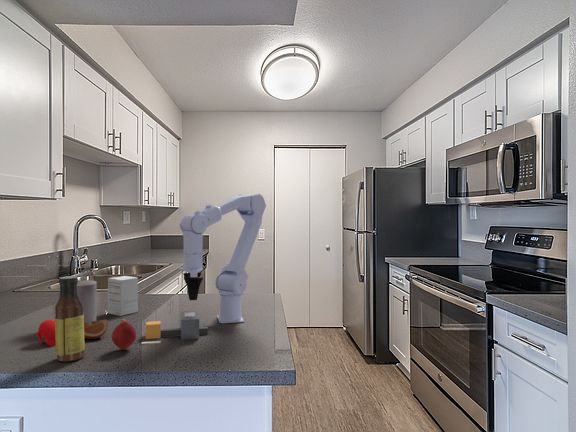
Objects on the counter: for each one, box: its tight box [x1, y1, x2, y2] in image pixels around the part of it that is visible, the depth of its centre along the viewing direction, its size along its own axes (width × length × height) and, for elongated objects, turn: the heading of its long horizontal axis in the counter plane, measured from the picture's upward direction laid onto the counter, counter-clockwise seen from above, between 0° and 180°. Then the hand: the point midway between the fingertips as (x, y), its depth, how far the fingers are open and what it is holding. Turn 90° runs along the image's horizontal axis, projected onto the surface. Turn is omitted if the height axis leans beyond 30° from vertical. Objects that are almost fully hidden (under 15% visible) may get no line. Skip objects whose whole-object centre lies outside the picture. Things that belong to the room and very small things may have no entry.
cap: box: [35, 319, 56, 347], centre depth 115 cm, size 8×6×6 cm
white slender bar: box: [140, 340, 162, 345], centre depth 116 cm, size 1×5×1 cm, turn 105°
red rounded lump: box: [111, 318, 137, 351], centre depth 110 cm, size 6×6×8 cm
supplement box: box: [107, 275, 139, 317], centre depth 151 cm, size 7×7×13 cm
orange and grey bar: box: [145, 320, 209, 340], centre depth 124 cm, size 18×4×4 cm, turn 105°
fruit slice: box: [84, 319, 109, 340], centre depth 120 cm, size 8×7×5 cm
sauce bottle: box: [54, 275, 85, 363], centre depth 103 cm, size 6×6×20 cm
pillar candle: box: [77, 278, 98, 323], centre depth 133 cm, size 10×10×15 cm
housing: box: [179, 310, 200, 341], centre depth 125 cm, size 11×5×6 cm, turn 15°
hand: (192, 297), depth 130 cm, fingers open, 7 cm apart
